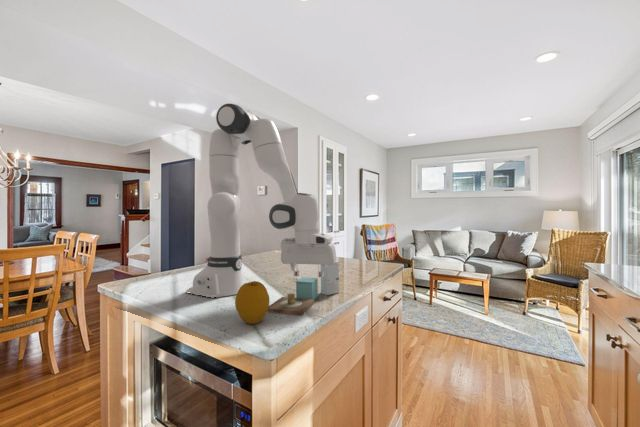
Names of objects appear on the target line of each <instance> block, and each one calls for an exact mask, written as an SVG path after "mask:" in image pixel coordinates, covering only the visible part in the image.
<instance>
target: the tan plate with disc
mask: <svg viewBox="0 0 640 427" xmlns="http://www.w3.org/2000/svg"><path fill="white" fill-rule="evenodd" d="M314 304H315V300H313V299H302V298H296V294H295V293H287V296H281V297H280V298H278V299H277V300H275V301H274V302H272V303H271V304H269V308H268V310H267V313H272V314H283V315H291V316H292V315H294V316H304V314H305V313H306V312H307V311H308V310H309V309H310V308H311V307H312V306H313V305H314Z"/></svg>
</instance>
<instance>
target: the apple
mask: <svg viewBox="0 0 640 427" xmlns="http://www.w3.org/2000/svg"><path fill="white" fill-rule="evenodd" d="M235 295H236V296H235V300H234V301H235V302H234V304H235V309H236V313H237V315H238V316H239V317H240V319H241V320H242V321H244V322H245V323H246V324H249V325H255V324H258V323H260V322H261V321H263V319H264V318H265V316H266V314H267V313H268V312H267V310H268V308H269V306H270V295H269V293H268V290H267V287H266V286H265V285H264V284H263V283H262V282H260V281H256V280H255V281H249V282H246V283H243V285H242V286H241V287H240V289H239V290H238V292H237V294H235Z"/></svg>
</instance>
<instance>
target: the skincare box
mask: <svg viewBox="0 0 640 427" xmlns="http://www.w3.org/2000/svg"><path fill="white" fill-rule="evenodd" d="M339 265H340V263H339V261H338V260H336V262H335V263H334V264H333V265H327V267H326V269H325V271H324V277H320V293H321V294H322V295H324V296H329V295H335V294H339V293H340V266H339ZM322 269H323V268H322V267H321V266H320V271H322Z"/></svg>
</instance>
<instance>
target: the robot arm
mask: <svg viewBox="0 0 640 427" xmlns="http://www.w3.org/2000/svg"><path fill="white" fill-rule="evenodd" d="M215 119H216V124H217V125H218V127H219V128H217V129H215V130H213V132H212V133H211V135H210V141H209V150H208V159H209V160H208V164H209V165H208V167H209V168H208V169H209V171H208V172H209V181H210V182H209V183H210V187H211V188H210V189H211V196H210V198H209V199H208V202H207V207H206V208H207V217H208V219H207V220H208V226H209V233H210V256H209V257H207V258H206V259H205V260H204V261H205V262H207V264H206V266H205V267H204V268H202V270H200V271H199V272H198V273H197V274H196V275H194V277H193V280H192V286H191V287H189V288H187V290H186V291H185V293H186V292H190V293H193V294H197V295H202V296H206V297H205V298H207V297H211V298H210V299H215V298H214V297H216V298H221V297H227V296H234V295H237V292H238V290H239V289H240V287H241V286H242V285H243V284H244V279H243V273H242V266H243V263H242V261H243V260H242V254H241V230H240V218H239V217H240V215H239V214H240V211H241V208H242V206H241V205H242V204H241V188H240V163H239V162H240V160H239V159H240V156H239V150H240V149H239V147H240V145H244V146H245V145H248V144H250V143H251V146H252V151H253V155H254V159H255V161H256V163H257V166H258V168H259V169H260V170H261V171H262V172H264V173H265V174H267V175H268V176H270V177H271V178H272V179H273V180H274V181H275V182H276V183H277V185H278V187H279V189H280V194H281V195H282V196H281V197H282V199H283V201H282V202H279V203H277V204H275V205H273V206H272V207H271V208H270V211H269V213H268V218H269V219H268V220H269V222H270V224H271V225H272V226H273V228H275V229H278V230H289V229H294V237H292V238H291V237H289V238H288V237H285V238H283V239H282V240H281V242H280V248H281V252H280V262H281V263H282V264H286V265H287V264H288V265H290V268H291V270H292V271H293V277H299V276H300V270H298V269H297V267H296V266H297V265H319V266H320V268H321V267H322V268H323V269H322V271H321V270H319V271H318V278H321V277H324V271H325V269H326V267H327V265H333V264H334V263H335V262H336V261H337V252H336V248H335V247H336V246H335V245H334V243H333V236H331V235H330V234H329V235H328V234H325V233H322V232H321V231H320V227H319V216H320V215H319V205H318V200H317V198H316V196H315V195H314V194H311V193H305V192H304V193H303V192H298V189H297V185H296V183H295V180H294V176H293V174H292V172H291V169H290V166H289V163H288V161H287V160H288V159H287V156H286V153H285V150H284V146H283V142H282V138H281V135H280V133H279V130H278V128H277V125H276V124H275V122H274V121H273V120H272V119H269V118H259V116H257V115H255V114H254V113H253V112H251V111H250V110H247V109H246V108H243V107H241V105H238V104H235V103H225V104H222V105H221V106H220V107H219V108H218V110H217V112H216V115H215ZM197 295H196V296H197ZM202 296H201V297H202Z"/></svg>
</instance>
